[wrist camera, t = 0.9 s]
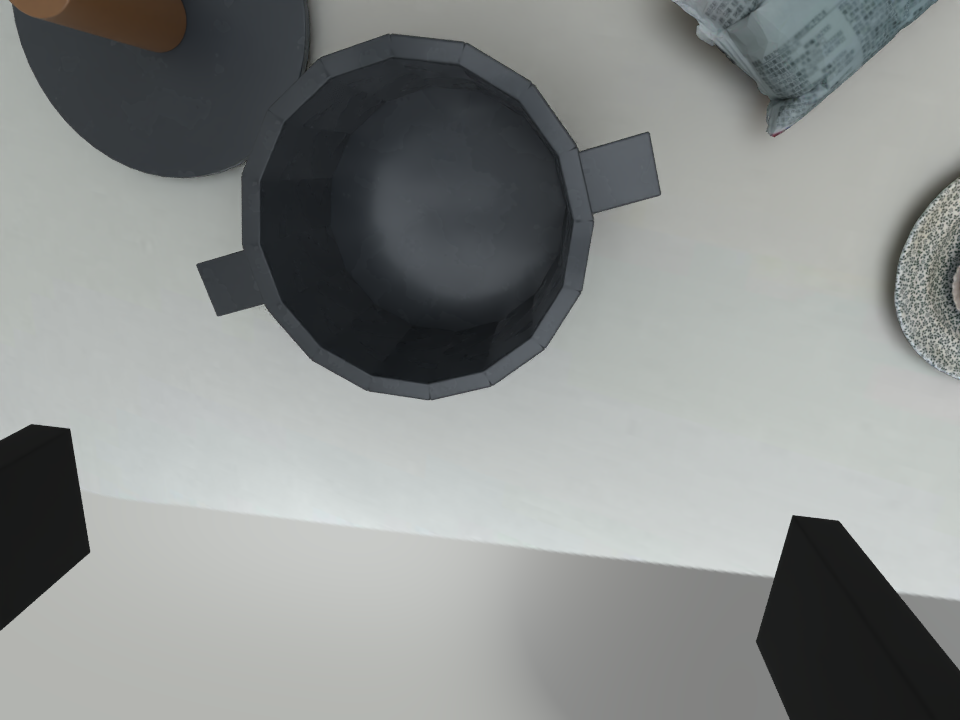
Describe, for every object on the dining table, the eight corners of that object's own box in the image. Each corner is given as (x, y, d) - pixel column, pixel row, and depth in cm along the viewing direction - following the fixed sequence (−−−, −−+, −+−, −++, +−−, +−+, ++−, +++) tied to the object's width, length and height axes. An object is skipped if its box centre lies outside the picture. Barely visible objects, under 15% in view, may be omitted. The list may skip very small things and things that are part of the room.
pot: (237, 135, 32) (126, 124, 24) (597, 15, 29) (619, -48, 20) (326, 375, 36) (258, 440, 27) (653, 294, 32) (692, 341, 24)
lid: (-24, -92, 30) (-239, -189, 22) (246, -213, 27) (117, -375, 19) (109, 210, 34) (-30, 224, 26) (355, 130, 31) (288, 118, 23)
